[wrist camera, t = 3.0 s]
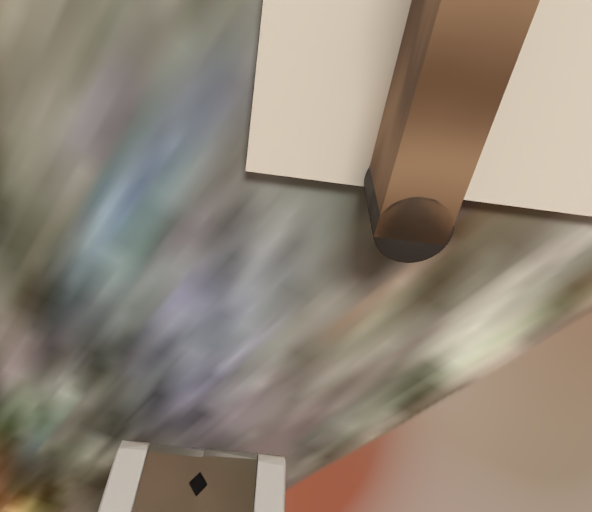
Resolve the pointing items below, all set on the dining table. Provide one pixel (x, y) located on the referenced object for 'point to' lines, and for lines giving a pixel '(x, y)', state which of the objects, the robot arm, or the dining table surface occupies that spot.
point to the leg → (439, 118)
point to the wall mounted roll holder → (375, 86)
